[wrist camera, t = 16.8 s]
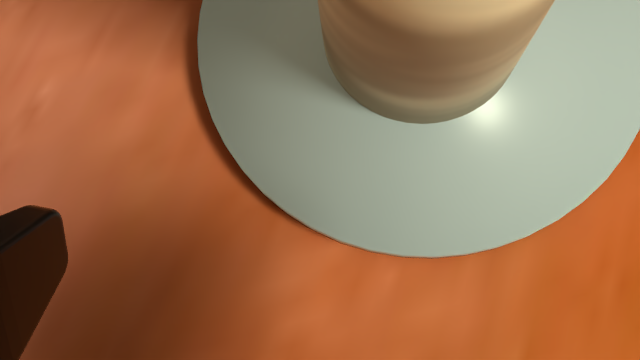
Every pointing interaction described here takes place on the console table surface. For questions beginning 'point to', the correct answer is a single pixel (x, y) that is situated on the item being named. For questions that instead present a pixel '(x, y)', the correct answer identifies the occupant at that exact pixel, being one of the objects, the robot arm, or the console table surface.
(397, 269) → the console table surface
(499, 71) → the birch post
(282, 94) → the plate
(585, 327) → the console table surface
